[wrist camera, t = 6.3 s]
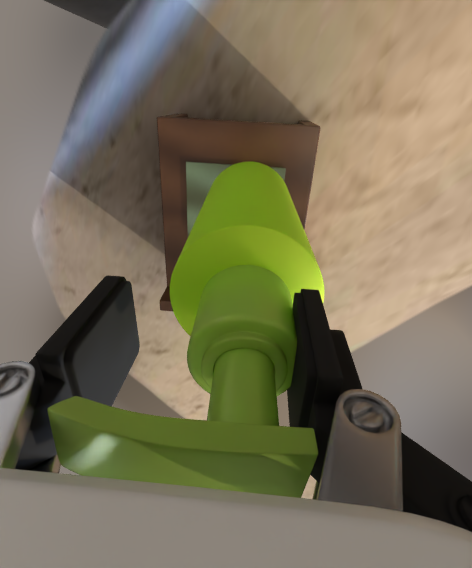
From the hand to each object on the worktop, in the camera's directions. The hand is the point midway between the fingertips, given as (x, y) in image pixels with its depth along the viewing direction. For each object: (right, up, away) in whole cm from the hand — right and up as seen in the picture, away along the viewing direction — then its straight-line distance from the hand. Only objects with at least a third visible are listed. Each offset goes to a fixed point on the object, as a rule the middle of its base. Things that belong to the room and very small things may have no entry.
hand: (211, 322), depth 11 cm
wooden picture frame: (+1, +11, +28) cm, 30 cm away
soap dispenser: (+1, +7, +13) cm, 15 cm away
